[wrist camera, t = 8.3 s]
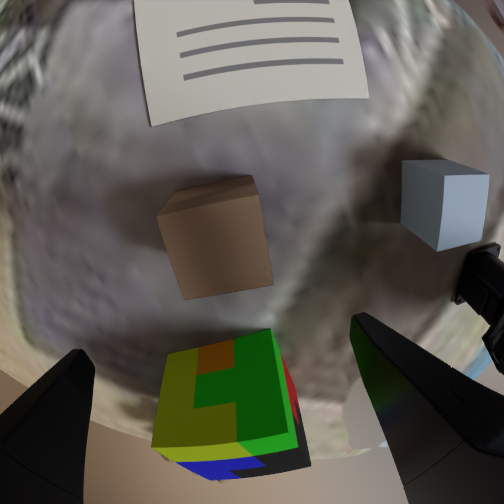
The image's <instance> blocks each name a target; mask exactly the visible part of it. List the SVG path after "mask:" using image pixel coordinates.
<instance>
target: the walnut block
mask: <svg viewBox="0 0 504 504" xmlns="http://www.w3.org/2000/svg"><path fill="white" fill-rule="evenodd" d="M156 219H157V222H158V225H159V228H160V232H161V235H162V238H163V241H164V244H165V247H166V250H167V253H168V256H169V259H170V262H171V265H172V268H173V270H174V273H175V276H176V279H177V282H178V284H179V287H180V290H181V293H182V295H183V298H184V300H188V299H195V298H201V297H207V296H214V295H220V294H226V293H232V292H237V291H243V290H249V289H255V288H260V287H266V286H271V285H274V284H273V277H272V271H271V265H270V258H269V252H268V246H267V240H266V234H265V228H264V222H263V216H262V210H261V204H260V198H259V194H258V191H257V188H256V185H255V182H254V180H253V177H252V175H251V176H245V177H240V178H235V179H230V180H225V181H220V182H215V183H210V184H205V185H201V186H196V187H192V188H187V189H183V190H179V191H175V193H174V194H173V195H172V196H171V198H170V199H169V200H168V201H167V203H166V204H165V205H164V206H163V208H162V209H161V210H160V212H159V213H158V214H157V215H156Z"/></svg>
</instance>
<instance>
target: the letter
mask: <svg viewBox="0 0 504 504" xmlns="http://www.w3.org/2000/svg"><path fill="white" fill-rule="evenodd" d="M134 5H135V17H136V28H137V37H138V45H139V53H140V60H141V67H142V74H143V81H144V87H145V93H146V99H147V104H148V110H149V115H150V120H151V125H152V127H153V126H157V125H160V124H164V123H168V122H171V121H175V120H179V119H183V118H188V117H192V116H196V115H201V114H206V113H210V112H215V111H221V110H226V109H232V108H238V107H244V106H251V105H258V104H266V103H275V102H285V101H296V100H311V99H339V98H360V99H369V93H368V86H367V79H366V73H365V68H364V62H363V57H362V52H361V47H360V43H359V38H358V34H357V30H356V26H355V22H354V18H353V14H352V11H351V7H350V4H349V1H348V0H134Z"/></svg>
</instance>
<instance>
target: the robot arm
mask: <svg viewBox="0 0 504 504" xmlns="http://www.w3.org/2000/svg"><path fill="white" fill-rule="evenodd" d="M500 249H501V246H500V245H499V244H494V245H491V246H488V247H485V248H481V249H478V250H475V251H471V252H469V253H468V254H467V256H466V260H465V264H464V268H463V272H462V276H461V280H460V284H459V287H458V291H457V294H456V297H455V300H454V303H455V304H456V305H459V304H461V303H464V302H467V303H468V304H469V305H470V306H471V307H472V309H473V310H474V311H475V312H476V313H477V314H478V315H481V316H482V317H483V318H484V320H485V321H486V322H487V323H488V324H489V325H491V326H490V327H489V329H488V330H487V332H486V333H485V334H484V335H483V337H482V340H483V342H484V344H485V346H486V348H487V350H488V352H489V354H490V356H491V358H492V360H493V362H494V364H495V366H496V368H497V370H498V371H499V372H500V373H502V374H503V375H504V262H503V261H501V260H500V259H499V258H498V257H499V253H500ZM350 341H351V344H352V347H353V351H354V354H355V357H356V361H357V364H358V367H359V371H360V374H361V377H362V380H363V383H364V386H365V388H366V390H367V393H368V395H369V398H370V400H371V403H372V405H373V408H374V410H375V412H376V415H377V417H378V420H379V422H380V425H381V427H382V430H383V432H384V435H385V438H386V440H387V443H388V445H389V448H390V450H391V453H392V456H393V459H394V462H395V464H396V467H397V470H398V472H399V475H400V478H401V481H402V484H403V486H404V490H405V493H406V496H407V499H408V502H409V504H504V396H503V395H501V394H499V393H497V392H495V391H493V390H491V389H489V388H487V387H485V386H483V385H481V384H480V383H478V382H476V381H474V380H472V379H471V378H469V377H467V376H466V375H464V374H462V373H461V372H459V371H458V370H456V369H455V368H453V367H452V368H451V366H450V365H448V364H447V363H445V362H443V361H442V360H440V359H439V358H437V357H436V356H434V355H432V354H431V353H429V352H428V351H426V350H425V349H423V348H421V347H420V346H418V345H417V344H415V343H414V342H412V341H410V340H409V339H407V338H406V337H404V336H402V335H401V334H399V333H398V332H396V331H395V330H393V329H391V328H390V327H388V326H387V325H385V324H383V323H382V322H380V321H379V320H377V319H375V318H374V317H372V316H371V315H369V314H367V313H365V312H362V313H358V314H354V315H352V317H351V325H350ZM94 377H95V366H94V364H93V362H92V361H91V360H90V358H89V357H88V355H87V354H86V353H85V351H84V350H82V349H73V350H71V351H70V352H69V353H68V354H67V355H66V356H64V357H63V358H62V359H61V360H60V361H59V362H57V363H56V364H55V365H54V366H53V367H52V368H51V369H50V370H48V371H47V372H46V373H45V374H44V375H43V376H42V377H41V378H39V379H38V380H37V381H36V382H35V383H34V384H33V385H32V386H31V387H29V388H28V389H27V390H26V391H25V392H24V393H23V394H22V395H21V396H20V397H19V398H18V399H17V400H16V401H14V402H13V404H11V405H10V406H9V407H8V408H7V409H6V410H5V411H4V412H3V413H2V414H0V504H83V488H84V487H83V486H84V468H85V455H86V445H87V436H88V428H89V421H90V415H91V408H92V398H93V387H94Z"/></svg>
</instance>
